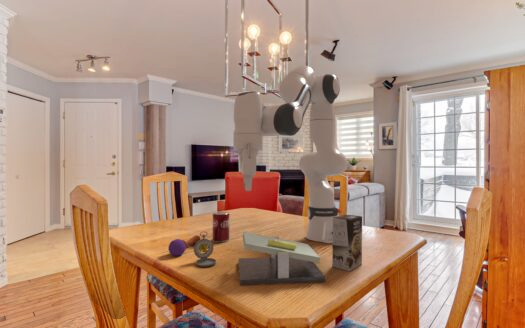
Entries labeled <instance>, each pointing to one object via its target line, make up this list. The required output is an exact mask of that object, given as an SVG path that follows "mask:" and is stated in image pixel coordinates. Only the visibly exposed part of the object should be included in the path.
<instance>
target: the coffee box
mask: <svg viewBox="0 0 525 328" xmlns="http://www.w3.org/2000/svg"><path fill="white" fill-rule="evenodd" d="M331 256H332V260H331V262H332V265H331V267H333V268H336V269H340V270H343V271H346V272H351V271H353V270H355V269H356V268H358V267H360V266H362V265H363V216H361V215H353V214H342V215H338V216H337V217H333V243H332V255H331Z"/></svg>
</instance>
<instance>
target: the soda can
mask: <svg viewBox="0 0 525 328" xmlns="http://www.w3.org/2000/svg"><path fill="white" fill-rule="evenodd" d="M230 217H231V216H230V213H229V212H228V211H215V212H213V213H212V241H213V242H215V243H226V242H228V241H229V240H230Z"/></svg>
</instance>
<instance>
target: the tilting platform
mask: <svg viewBox="0 0 525 328" xmlns="http://www.w3.org/2000/svg"><path fill="white" fill-rule="evenodd" d="M273 237H274V236H269V235H268V236H267V235H262V234H258V233H251V232H245V231H243V233H242V241H243V242H242V243H243V248H244V250H247V251H253V252H257V253H262V254H269V255H270V254H273V255H278V252H289V258H295V259H300V260H306V261H311V262H314V263H318V264H320V261H321V257H320V256H319V254H317V252H315V250H314V249H313V248H312V247H311V246H310V245H309V244H308V243H304V242H299V241H295V240H288V239H282V238H279V239H278V238H273Z"/></svg>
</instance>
